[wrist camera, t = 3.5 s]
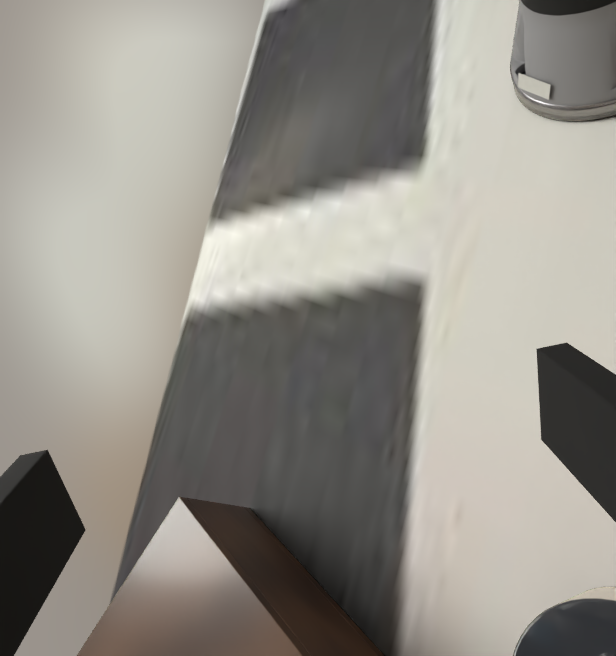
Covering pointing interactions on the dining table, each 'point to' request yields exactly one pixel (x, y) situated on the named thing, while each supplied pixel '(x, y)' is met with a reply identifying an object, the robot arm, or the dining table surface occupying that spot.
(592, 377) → the robot arm
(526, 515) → the dining table surface
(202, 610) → the cabinet
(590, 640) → the bottle
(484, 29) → the dining table surface
